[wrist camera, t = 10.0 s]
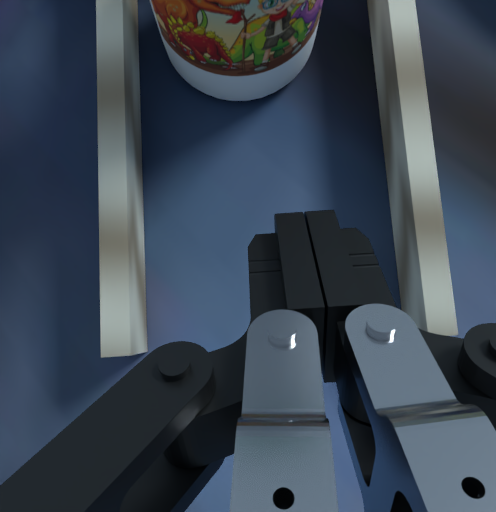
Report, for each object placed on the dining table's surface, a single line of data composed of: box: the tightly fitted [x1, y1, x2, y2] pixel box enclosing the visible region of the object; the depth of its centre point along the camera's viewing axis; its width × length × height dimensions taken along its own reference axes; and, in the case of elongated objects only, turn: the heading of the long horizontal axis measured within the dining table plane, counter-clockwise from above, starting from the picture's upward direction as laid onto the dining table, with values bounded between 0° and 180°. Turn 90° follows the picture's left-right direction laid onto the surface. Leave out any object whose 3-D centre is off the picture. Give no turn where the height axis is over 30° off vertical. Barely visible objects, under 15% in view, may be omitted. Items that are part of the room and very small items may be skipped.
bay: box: [96, 0, 458, 357], centre depth 22 cm, size 22×14×4 cm, turn 4°
